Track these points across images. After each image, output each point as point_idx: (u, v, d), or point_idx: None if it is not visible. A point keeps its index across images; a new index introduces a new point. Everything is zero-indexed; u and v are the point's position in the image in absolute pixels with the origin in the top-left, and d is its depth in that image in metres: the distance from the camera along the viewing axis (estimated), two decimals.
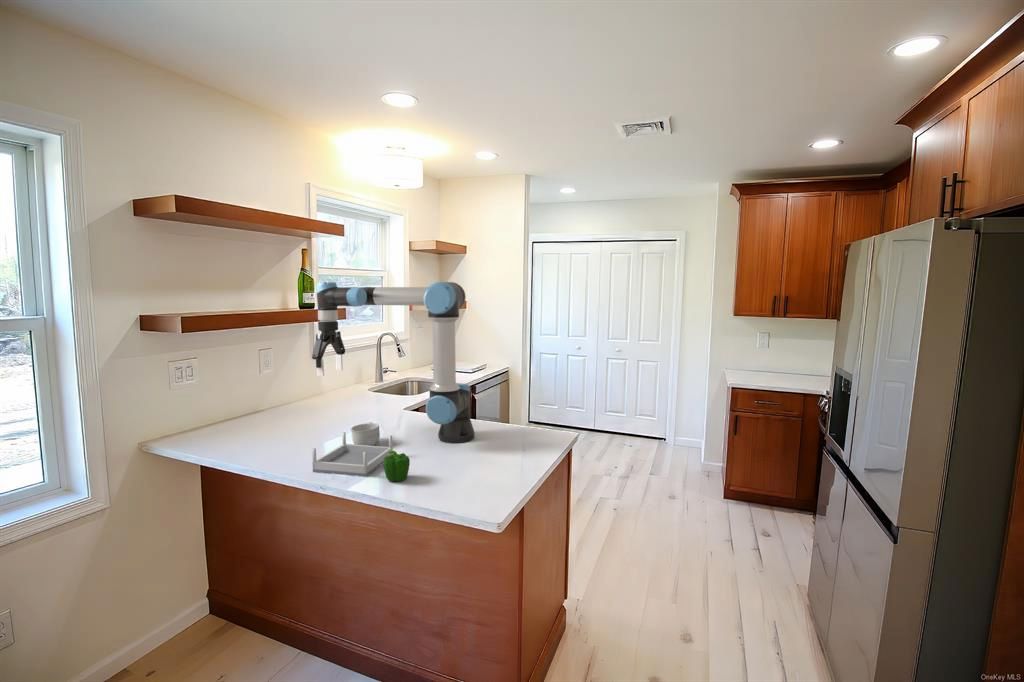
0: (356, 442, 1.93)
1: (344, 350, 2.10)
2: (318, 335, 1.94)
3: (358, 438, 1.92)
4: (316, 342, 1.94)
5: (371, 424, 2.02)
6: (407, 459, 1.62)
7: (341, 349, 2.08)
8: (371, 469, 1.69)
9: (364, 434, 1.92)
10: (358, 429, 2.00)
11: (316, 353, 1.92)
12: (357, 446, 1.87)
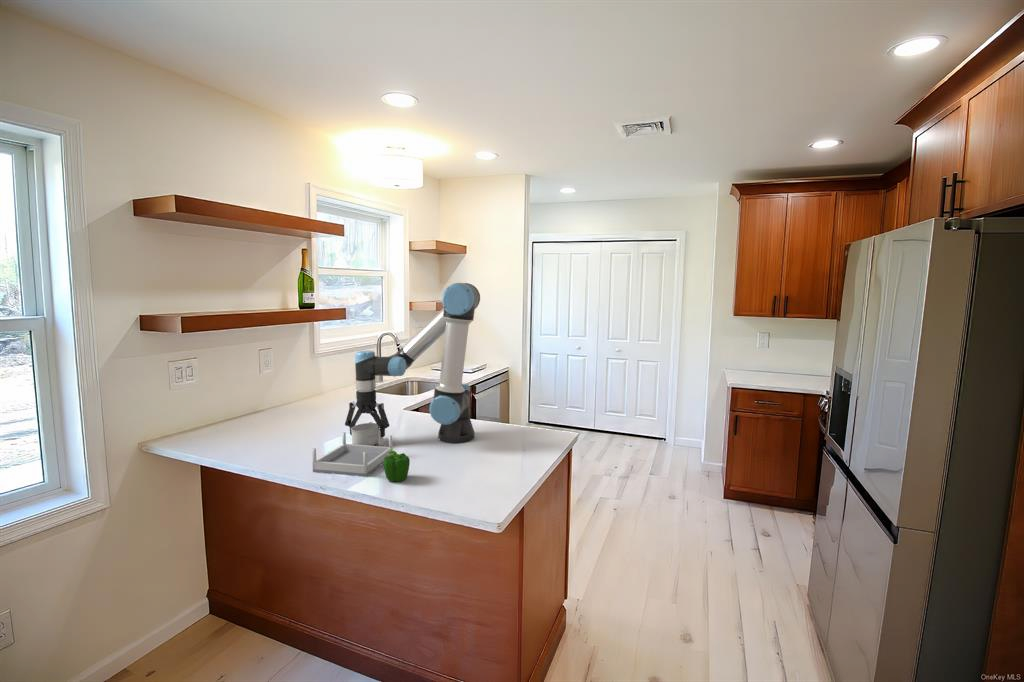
0: (356, 442, 1.93)
1: (384, 426, 1.95)
2: None
3: (358, 438, 1.92)
4: None
5: (371, 424, 2.02)
6: (407, 459, 1.62)
7: (380, 424, 1.96)
8: (371, 469, 1.69)
9: (364, 434, 1.92)
10: (358, 429, 2.00)
11: None
12: (357, 446, 1.87)
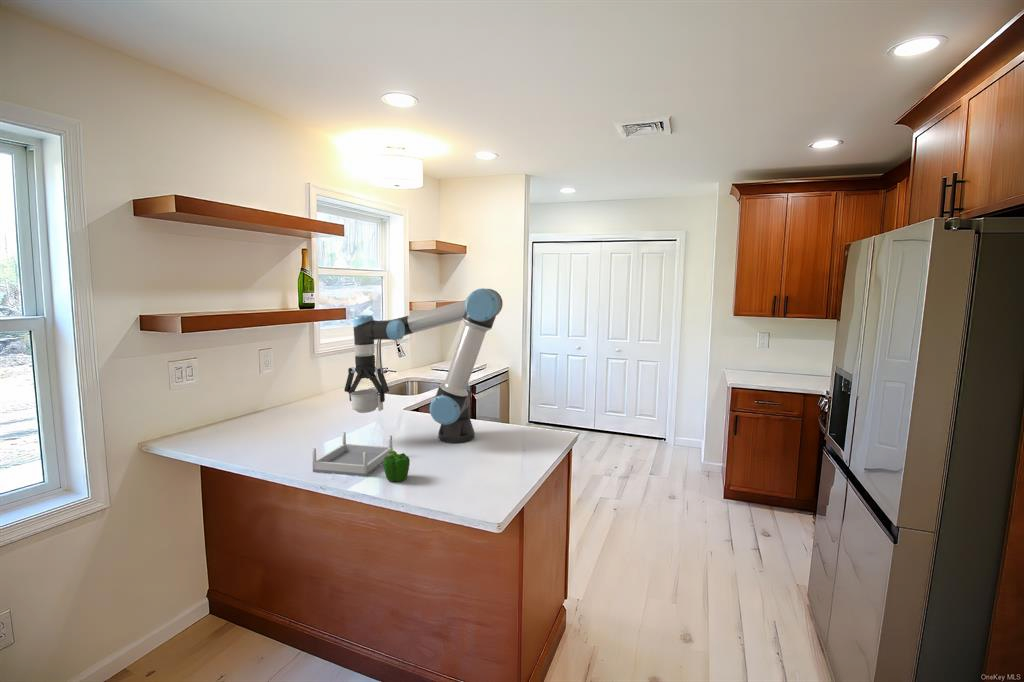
0: (356, 407, 1.91)
1: (384, 391, 1.94)
2: None
3: (357, 402, 1.91)
4: None
5: (371, 390, 2.00)
6: (407, 459, 1.62)
7: (379, 389, 1.94)
8: (371, 469, 1.69)
9: (363, 398, 1.90)
10: (357, 395, 1.99)
11: None
12: (357, 446, 1.87)
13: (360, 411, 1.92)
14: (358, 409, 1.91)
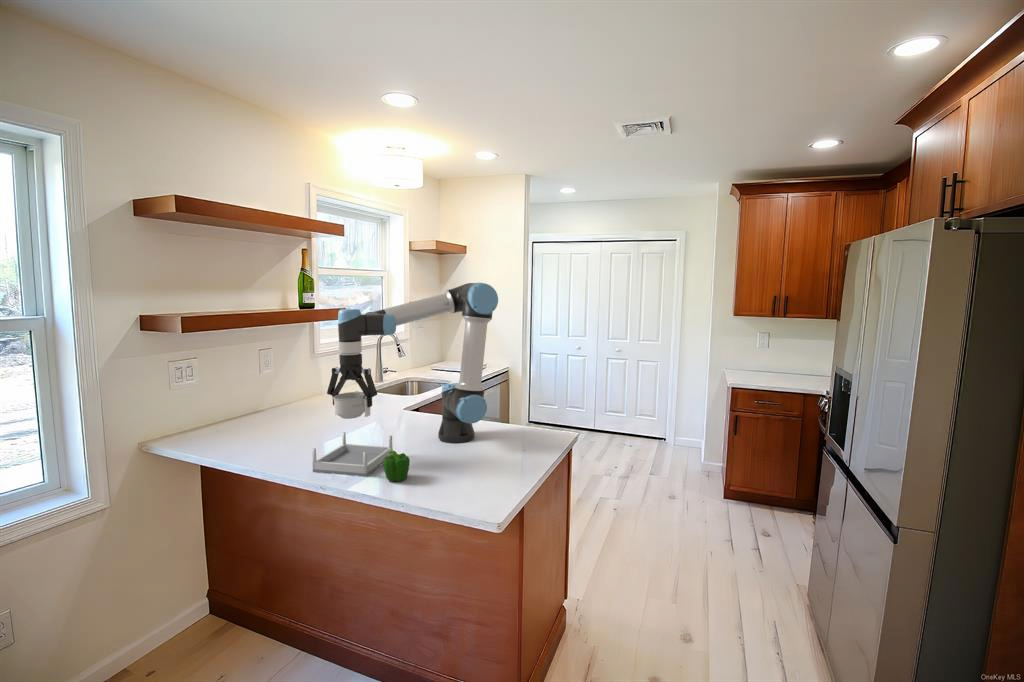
0: (339, 412, 1.70)
1: (371, 394, 1.72)
2: None
3: (341, 407, 1.69)
4: None
5: (357, 393, 1.78)
6: (407, 459, 1.62)
7: (366, 392, 1.72)
8: (371, 469, 1.69)
9: (348, 402, 1.68)
10: (342, 398, 1.77)
11: None
12: (357, 446, 1.87)
13: (344, 417, 1.70)
14: (342, 414, 1.70)
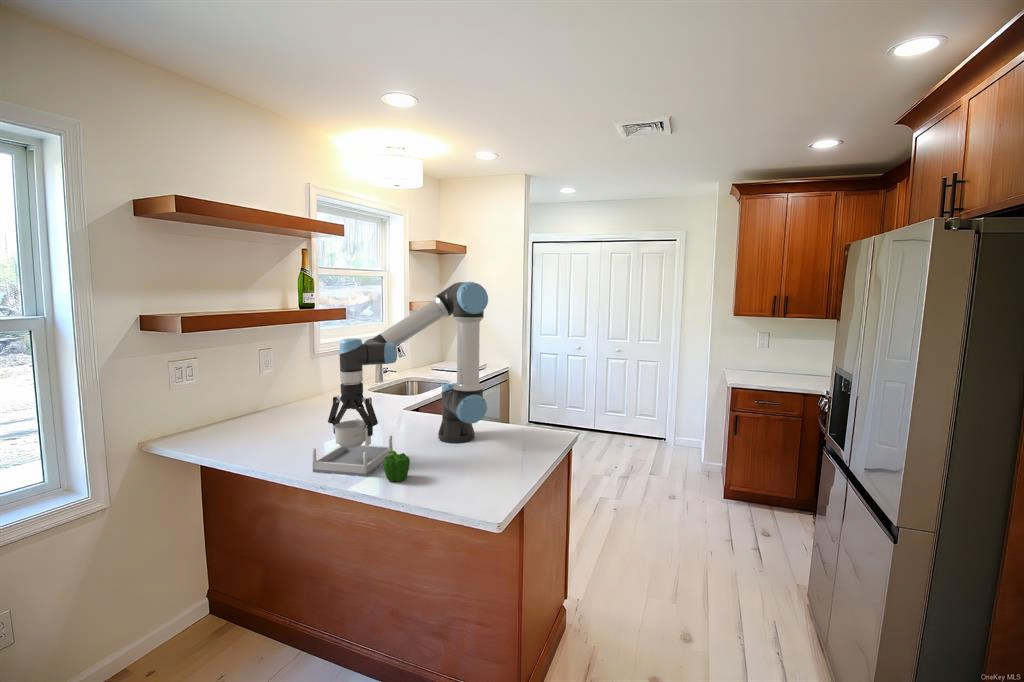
0: (340, 441, 1.71)
1: (372, 424, 1.73)
2: None
3: (342, 437, 1.70)
4: None
5: (357, 421, 1.79)
6: (407, 459, 1.62)
7: (367, 421, 1.73)
8: (371, 469, 1.69)
9: (349, 432, 1.70)
10: (343, 427, 1.78)
11: None
12: None
13: (345, 446, 1.71)
14: (342, 444, 1.71)
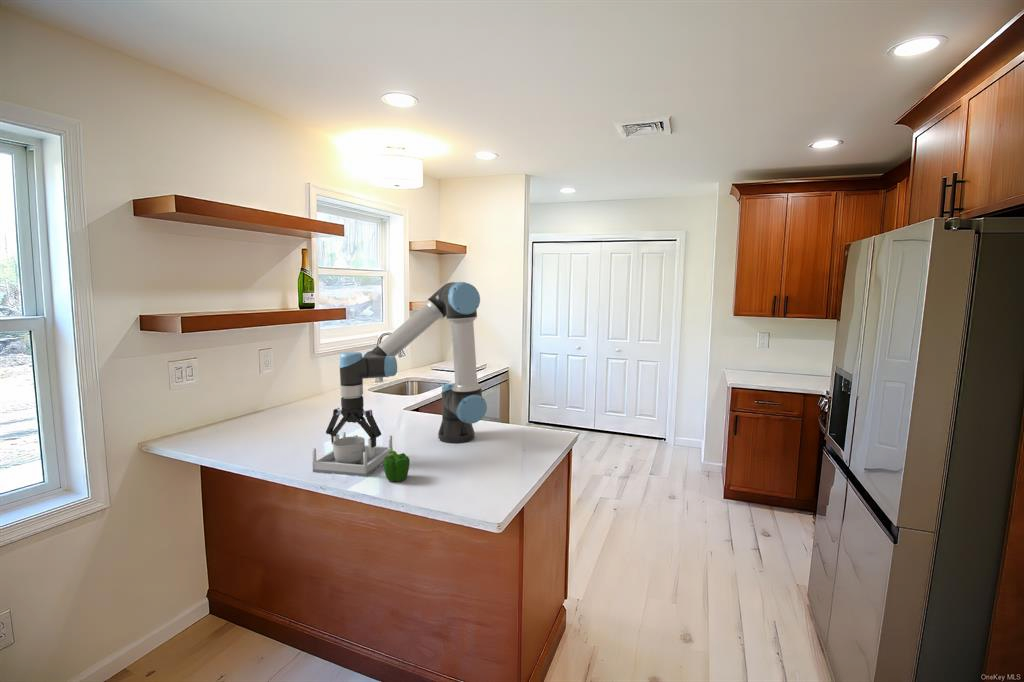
0: (338, 458, 1.72)
1: (376, 435, 1.73)
2: None
3: (340, 454, 1.71)
4: None
5: (356, 438, 1.80)
6: (407, 459, 1.62)
7: (370, 432, 1.74)
8: (371, 469, 1.69)
9: (347, 450, 1.70)
10: (341, 443, 1.79)
11: None
12: None
13: None
14: (340, 461, 1.71)
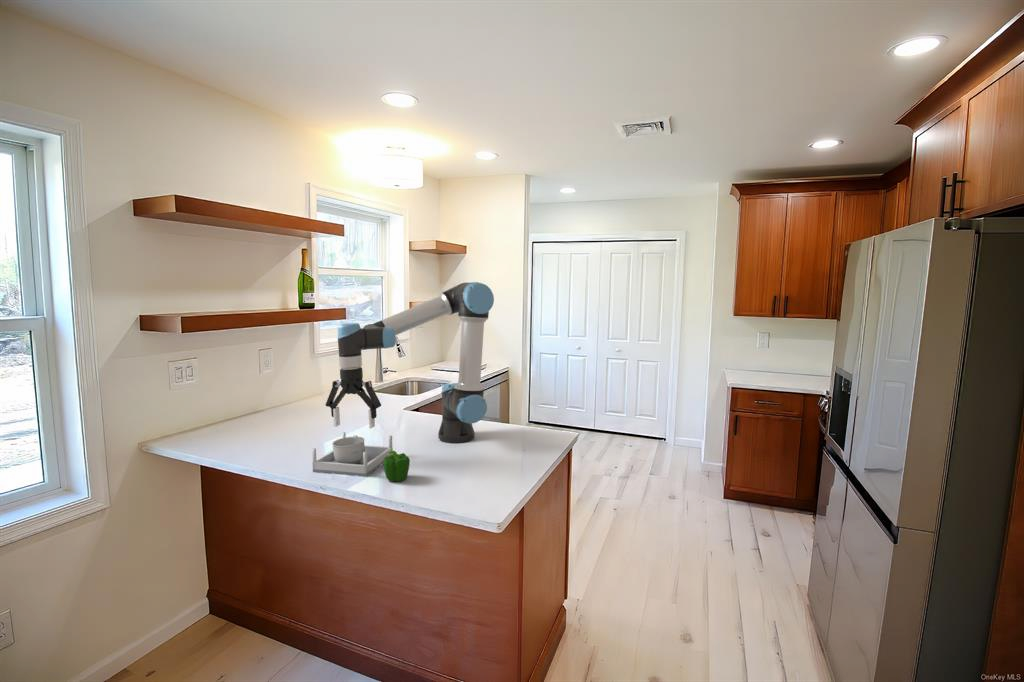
0: (338, 459, 1.72)
1: (375, 406, 1.72)
2: None
3: (340, 454, 1.71)
4: None
5: (356, 438, 1.80)
6: (407, 459, 1.62)
7: (370, 404, 1.73)
8: (371, 469, 1.69)
9: (347, 450, 1.70)
10: (341, 443, 1.79)
11: None
12: None
13: None
14: (340, 461, 1.72)
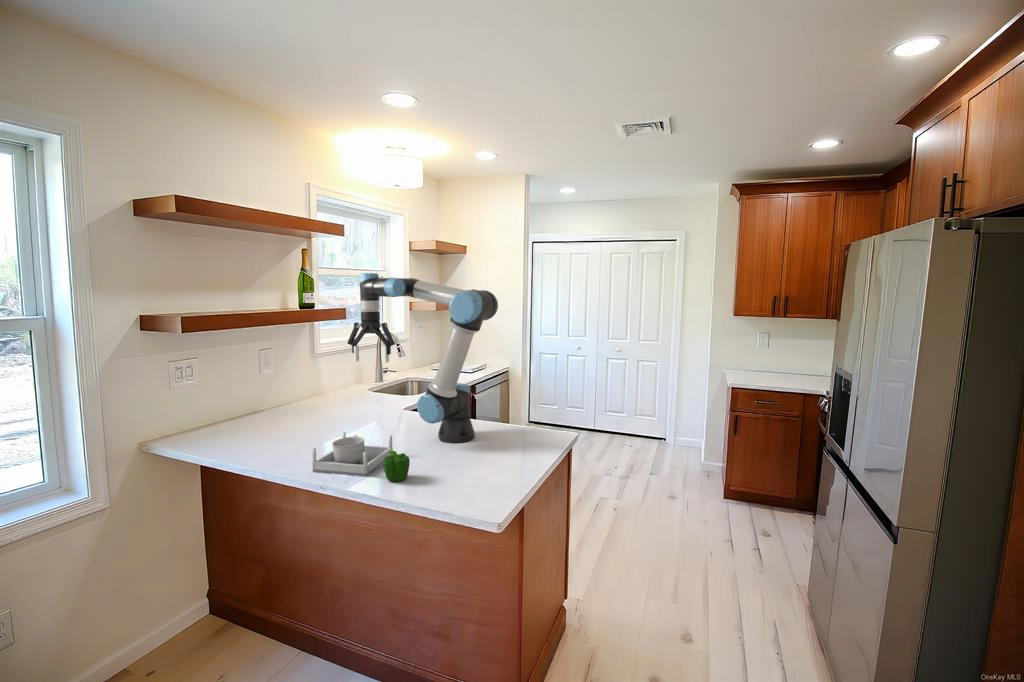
0: (338, 459, 1.72)
1: (390, 343, 2.03)
2: None
3: (340, 454, 1.71)
4: None
5: (355, 438, 1.80)
6: (407, 459, 1.62)
7: (385, 341, 2.03)
8: (371, 469, 1.69)
9: (347, 450, 1.70)
10: (341, 443, 1.79)
11: None
12: None
13: None
14: (340, 461, 1.72)
